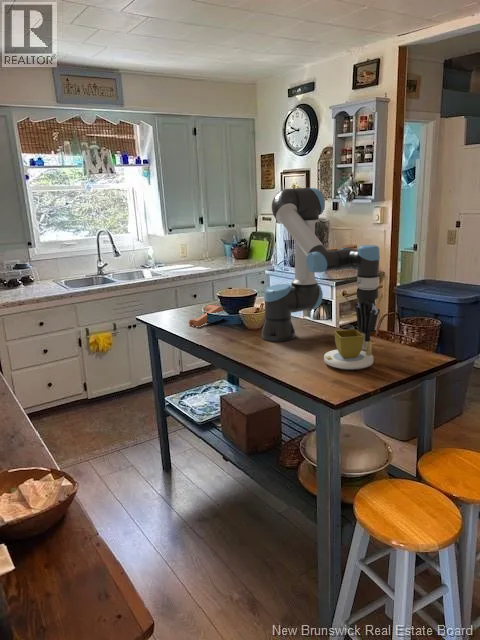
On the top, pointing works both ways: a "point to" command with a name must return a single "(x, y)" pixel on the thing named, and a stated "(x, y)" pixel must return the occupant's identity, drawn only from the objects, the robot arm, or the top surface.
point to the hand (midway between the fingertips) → (365, 348)
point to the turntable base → (348, 369)
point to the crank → (205, 315)
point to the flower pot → (349, 343)
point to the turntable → (350, 359)
